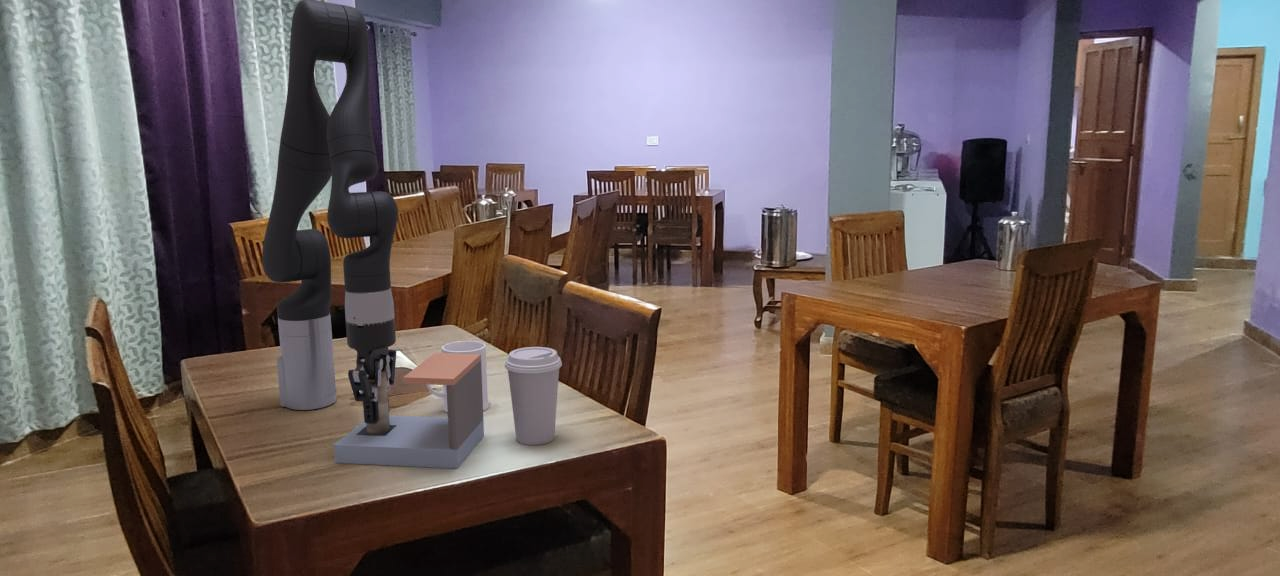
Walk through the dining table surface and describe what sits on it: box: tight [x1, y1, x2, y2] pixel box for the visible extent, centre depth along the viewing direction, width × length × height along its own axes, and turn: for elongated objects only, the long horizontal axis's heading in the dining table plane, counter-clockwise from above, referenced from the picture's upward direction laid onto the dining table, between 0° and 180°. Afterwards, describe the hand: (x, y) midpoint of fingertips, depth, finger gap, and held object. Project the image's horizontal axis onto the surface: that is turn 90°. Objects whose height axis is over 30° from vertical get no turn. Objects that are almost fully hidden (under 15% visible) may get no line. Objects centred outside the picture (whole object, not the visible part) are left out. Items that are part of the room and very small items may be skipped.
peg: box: [367, 371, 390, 435], centre depth 138 cm, size 4×4×10 cm
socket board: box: [333, 352, 485, 469], centre depth 138 cm, size 20×14×14 cm
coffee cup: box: [504, 346, 563, 446], centre depth 142 cm, size 10×10×15 cm
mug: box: [425, 340, 490, 414], centre depth 157 cm, size 12×8×12 cm
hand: (377, 418), depth 139 cm, fingers closed on peg, 3 cm apart
